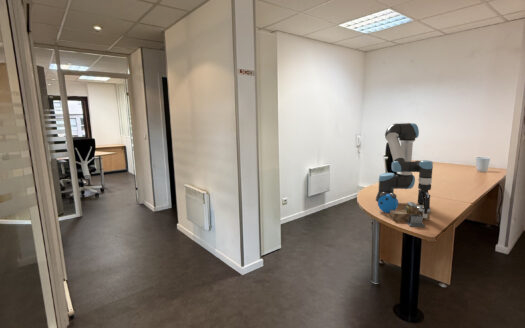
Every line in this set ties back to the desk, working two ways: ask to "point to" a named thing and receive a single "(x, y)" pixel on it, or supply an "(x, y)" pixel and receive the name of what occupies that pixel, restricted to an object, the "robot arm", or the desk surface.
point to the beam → (403, 216)
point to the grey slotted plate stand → (415, 221)
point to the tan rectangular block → (407, 209)
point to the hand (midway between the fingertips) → (422, 216)
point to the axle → (420, 210)
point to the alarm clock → (387, 202)
